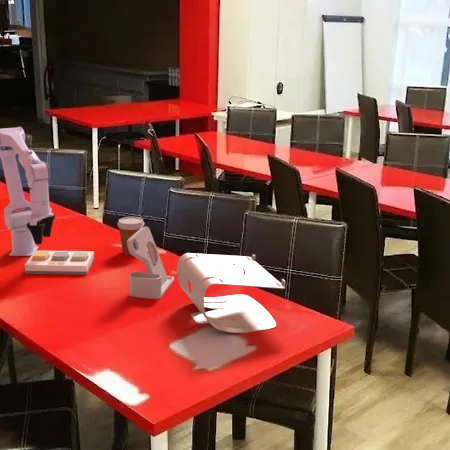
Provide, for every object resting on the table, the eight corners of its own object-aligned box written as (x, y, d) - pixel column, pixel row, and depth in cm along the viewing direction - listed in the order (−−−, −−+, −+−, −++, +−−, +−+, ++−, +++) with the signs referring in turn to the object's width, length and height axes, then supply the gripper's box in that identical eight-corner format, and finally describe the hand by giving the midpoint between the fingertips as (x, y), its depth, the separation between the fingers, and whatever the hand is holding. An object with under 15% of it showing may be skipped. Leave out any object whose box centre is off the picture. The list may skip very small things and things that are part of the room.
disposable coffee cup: (112, 253, 230) (111, 221, 227) (128, 246, 238) (127, 215, 235) (134, 258, 226) (134, 225, 223) (150, 250, 234) (149, 219, 231)
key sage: (74, 257, 219) (74, 252, 218) (87, 257, 219) (87, 252, 218) (72, 262, 215) (71, 256, 214) (85, 262, 215) (85, 256, 214)
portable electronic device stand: (176, 302, 192) (176, 253, 187) (249, 292, 200) (251, 245, 195) (203, 340, 169) (204, 285, 165) (285, 328, 177) (288, 275, 173)
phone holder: (158, 300, 193) (158, 243, 188) (126, 296, 195) (125, 240, 190) (175, 278, 209) (175, 225, 204) (145, 275, 211) (144, 223, 206)
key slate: (55, 257, 219) (55, 251, 218) (68, 257, 219) (68, 251, 218) (52, 261, 214) (52, 256, 214) (65, 262, 215) (65, 256, 214)
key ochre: (36, 257, 219) (35, 251, 218) (49, 257, 219) (48, 251, 218) (32, 261, 214) (32, 255, 214) (45, 261, 214) (45, 256, 214)
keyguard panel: (36, 258, 224) (35, 249, 223) (94, 259, 224) (93, 250, 223) (25, 273, 210) (24, 264, 209) (86, 274, 211) (86, 265, 210)
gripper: (43, 206, 202) (46, 247, 206) (59, 195, 216) (61, 234, 219) (21, 205, 202) (25, 246, 206) (38, 194, 216) (41, 233, 220)
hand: (42, 240), depth 213 cm, fingers open, 7 cm apart
